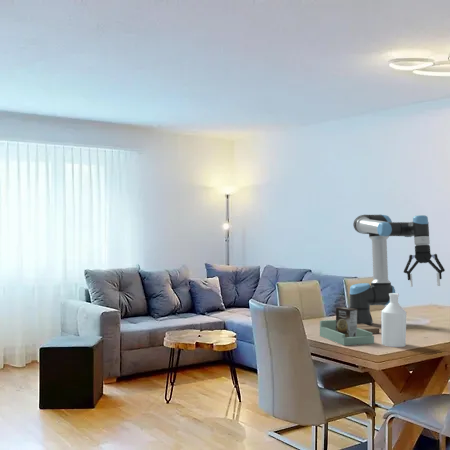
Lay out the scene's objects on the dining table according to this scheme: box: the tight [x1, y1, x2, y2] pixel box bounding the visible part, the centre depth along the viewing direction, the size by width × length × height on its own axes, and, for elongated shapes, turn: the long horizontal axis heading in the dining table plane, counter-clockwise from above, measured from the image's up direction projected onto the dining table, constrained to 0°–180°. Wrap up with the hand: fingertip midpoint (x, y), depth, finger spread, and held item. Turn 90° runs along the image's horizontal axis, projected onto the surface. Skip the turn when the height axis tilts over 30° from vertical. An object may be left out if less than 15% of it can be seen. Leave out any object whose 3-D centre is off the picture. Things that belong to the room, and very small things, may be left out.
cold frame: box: [319, 319, 375, 346], centre depth 302 cm, size 25×17×8 cm
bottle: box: [380, 292, 407, 348], centre depth 291 cm, size 12×12×25 cm
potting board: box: [357, 324, 380, 334], centre depth 325 cm, size 16×16×2 cm
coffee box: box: [335, 306, 357, 337], centre depth 302 cm, size 9×6×16 cm
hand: (425, 286), depth 305 cm, fingers open, 13 cm apart
